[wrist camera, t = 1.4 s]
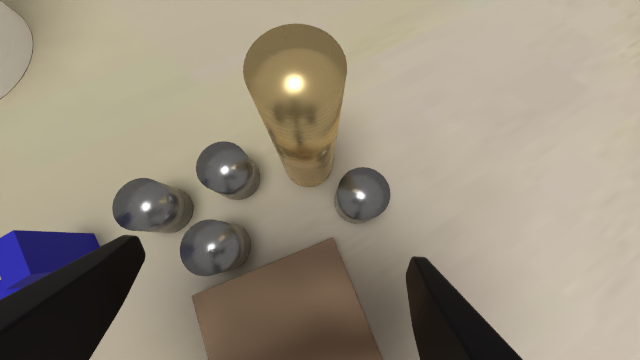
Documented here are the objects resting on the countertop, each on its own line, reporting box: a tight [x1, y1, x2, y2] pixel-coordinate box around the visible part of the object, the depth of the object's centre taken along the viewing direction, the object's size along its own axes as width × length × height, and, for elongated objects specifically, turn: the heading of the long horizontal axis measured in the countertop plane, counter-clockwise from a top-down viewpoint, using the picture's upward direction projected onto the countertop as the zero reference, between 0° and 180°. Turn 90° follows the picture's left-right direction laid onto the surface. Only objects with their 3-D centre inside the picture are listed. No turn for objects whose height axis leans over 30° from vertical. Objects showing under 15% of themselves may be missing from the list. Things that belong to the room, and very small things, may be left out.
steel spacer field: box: [112, 142, 390, 276], centre depth 20 cm, size 9×18×4 cm, turn 112°
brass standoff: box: [243, 24, 347, 187], centre depth 17 cm, size 4×4×13 cm
